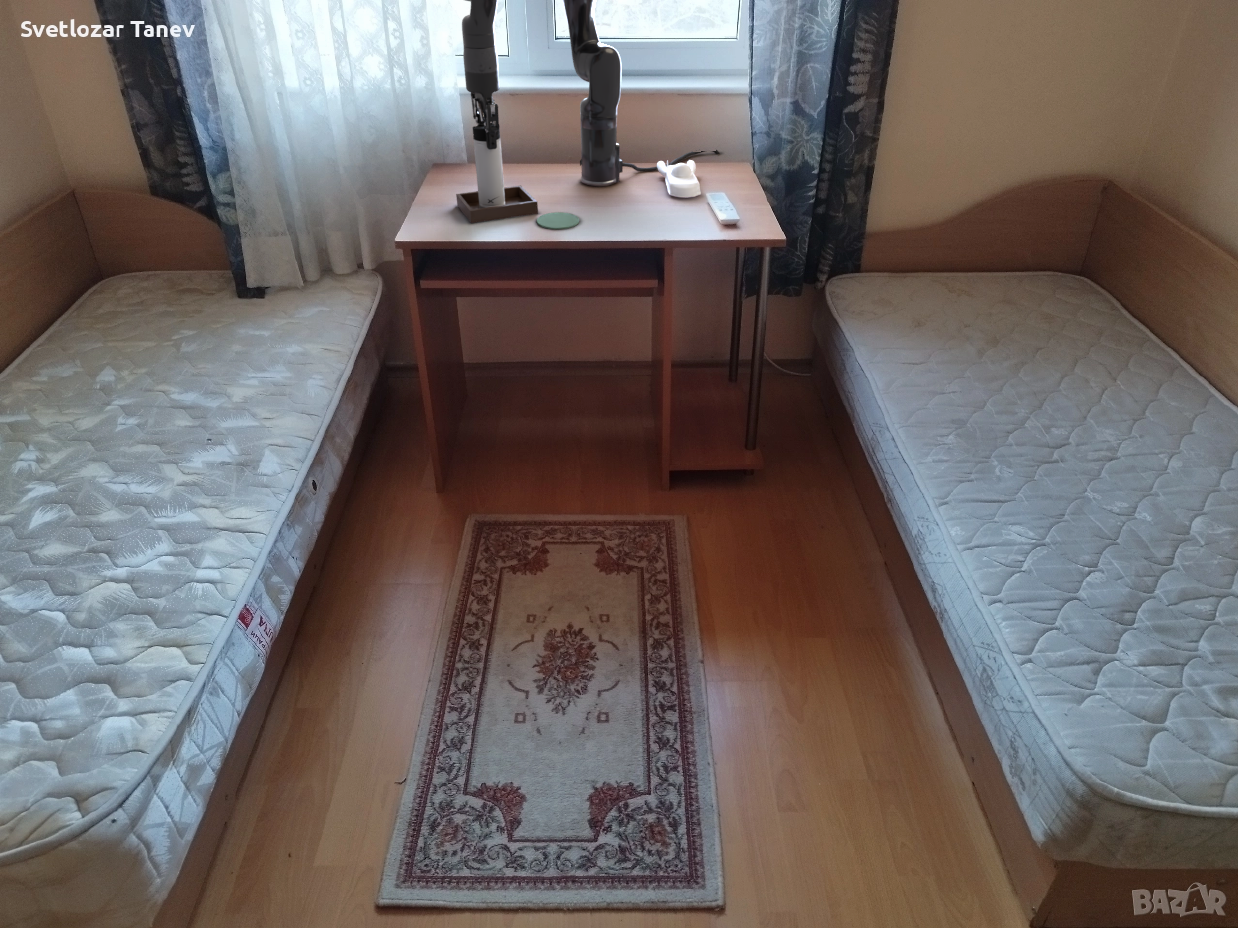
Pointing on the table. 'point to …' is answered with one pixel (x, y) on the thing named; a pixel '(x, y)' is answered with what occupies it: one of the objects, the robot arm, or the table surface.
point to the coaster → (558, 220)
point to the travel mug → (488, 169)
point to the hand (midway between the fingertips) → (487, 144)
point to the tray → (515, 205)
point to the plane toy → (680, 179)
